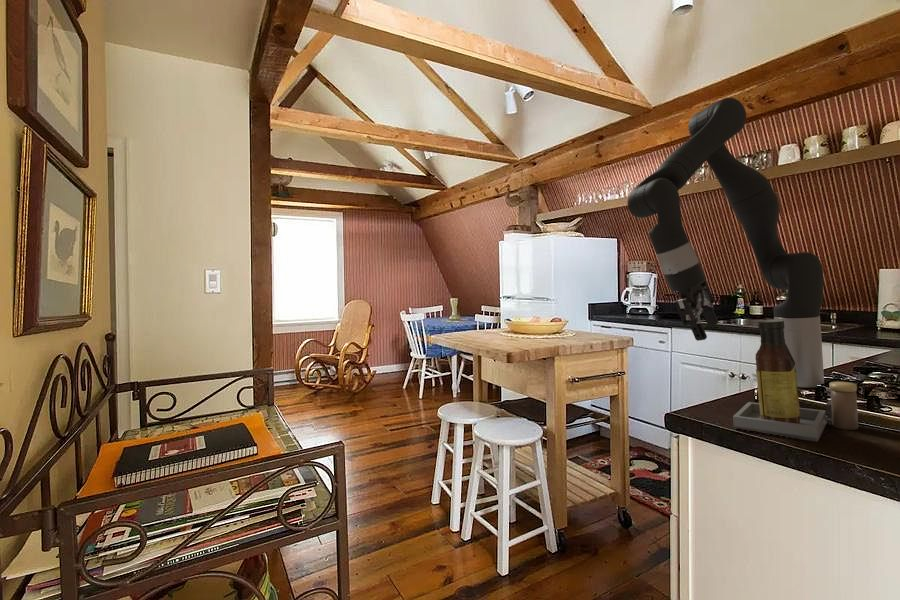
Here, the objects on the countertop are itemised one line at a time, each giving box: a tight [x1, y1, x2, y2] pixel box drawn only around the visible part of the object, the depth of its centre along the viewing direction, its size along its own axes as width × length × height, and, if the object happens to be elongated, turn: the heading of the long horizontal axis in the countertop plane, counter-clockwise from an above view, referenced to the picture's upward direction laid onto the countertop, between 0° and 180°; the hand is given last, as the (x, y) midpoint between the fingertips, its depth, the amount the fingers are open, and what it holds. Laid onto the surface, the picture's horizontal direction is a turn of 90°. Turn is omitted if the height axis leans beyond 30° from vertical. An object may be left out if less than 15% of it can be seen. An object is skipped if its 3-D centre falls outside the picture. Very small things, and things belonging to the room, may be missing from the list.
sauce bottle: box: [755, 319, 801, 424], centre depth 85 cm, size 7×6×20 cm
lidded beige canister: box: [828, 381, 859, 431], centre depth 82 cm, size 4×4×8 cm
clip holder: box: [825, 399, 832, 422], centre depth 91 cm, size 5×13×3 cm, turn 44°
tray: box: [732, 401, 828, 443], centre depth 85 cm, size 12×13×2 cm
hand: (707, 331), depth 99 cm, fingers open, 8 cm apart
